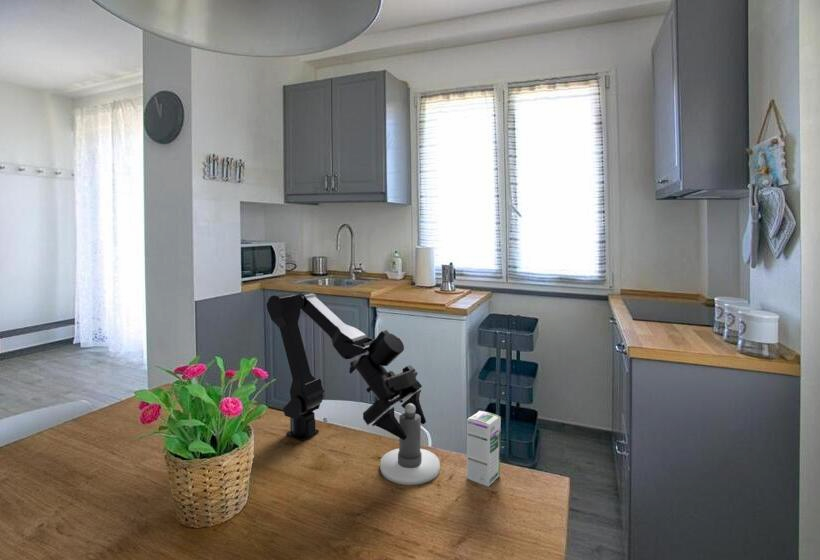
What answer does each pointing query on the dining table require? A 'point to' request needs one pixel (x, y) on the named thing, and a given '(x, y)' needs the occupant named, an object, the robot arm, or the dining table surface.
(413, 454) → the pepper mill
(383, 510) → the dining table surface
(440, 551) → the dining table surface
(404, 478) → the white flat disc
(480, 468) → the syrup box
